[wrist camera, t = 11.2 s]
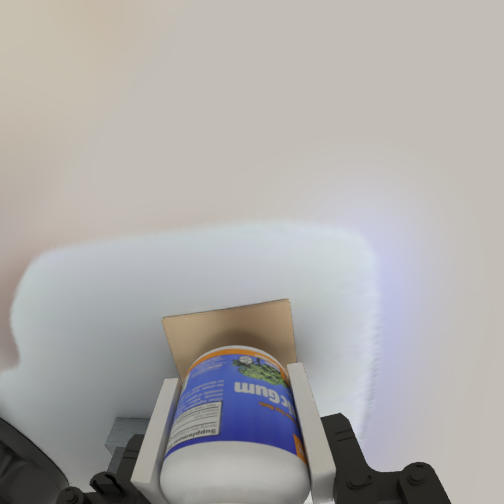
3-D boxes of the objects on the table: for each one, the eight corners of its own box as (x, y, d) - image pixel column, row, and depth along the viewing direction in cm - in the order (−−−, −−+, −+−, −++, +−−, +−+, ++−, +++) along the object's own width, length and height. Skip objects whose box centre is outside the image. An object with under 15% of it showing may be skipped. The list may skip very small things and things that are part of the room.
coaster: (194, 408, 17) (193, 411, 17) (163, 317, 16) (161, 320, 15) (299, 394, 17) (300, 398, 17) (288, 298, 16) (289, 301, 15)
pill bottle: (307, 384, 14) (357, 542, 5) (234, 429, 15) (234, 573, 6) (239, 320, 13) (241, 518, 4) (164, 378, 14) (115, 537, 5)
